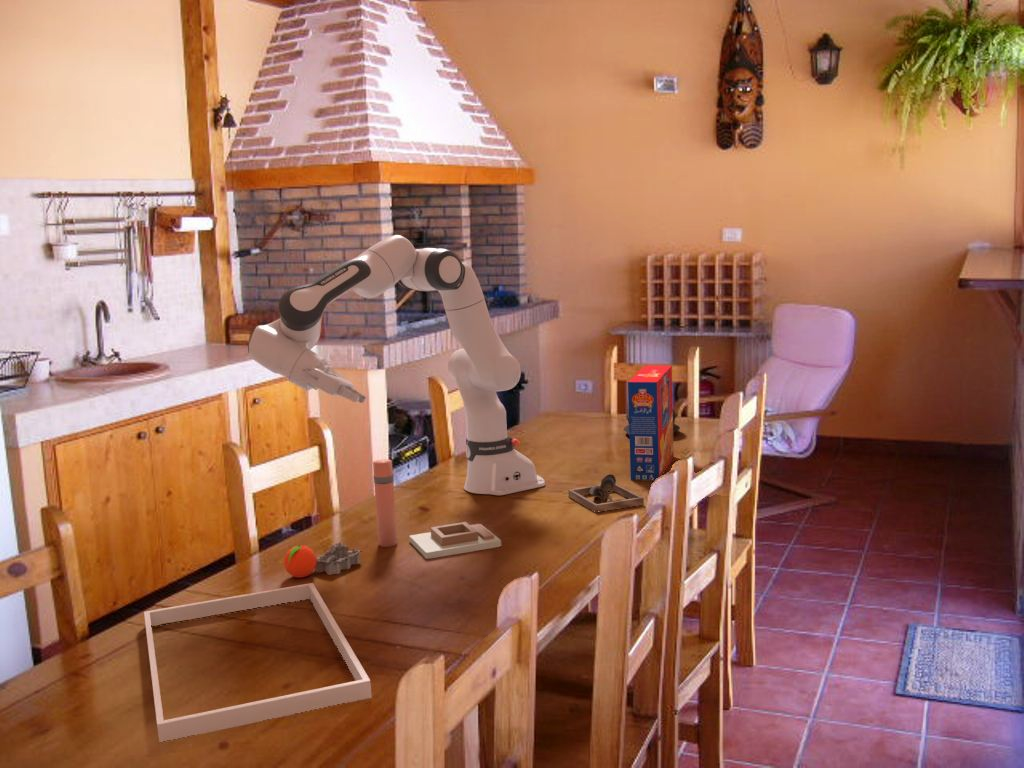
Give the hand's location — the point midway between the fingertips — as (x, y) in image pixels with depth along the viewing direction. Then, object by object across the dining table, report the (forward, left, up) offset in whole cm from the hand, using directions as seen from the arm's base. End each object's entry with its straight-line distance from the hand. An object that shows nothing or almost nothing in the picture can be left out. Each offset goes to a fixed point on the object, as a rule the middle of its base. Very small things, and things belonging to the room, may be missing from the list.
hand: (361, 400), depth 247 cm
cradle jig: (-17, +12, -34) cm, 40 cm away
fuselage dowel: (-3, +4, -34) cm, 35 cm away
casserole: (-111, -65, -35) cm, 133 cm away
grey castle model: (+11, +14, -35) cm, 39 cm away
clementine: (+20, +17, -34) cm, 44 cm away
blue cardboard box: (-90, -25, -35) cm, 100 cm away
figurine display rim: (-63, -2, -34) cm, 72 cm away
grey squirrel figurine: (-63, -2, -35) cm, 72 cm away
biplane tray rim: (+36, +55, -34) cm, 74 cm away
